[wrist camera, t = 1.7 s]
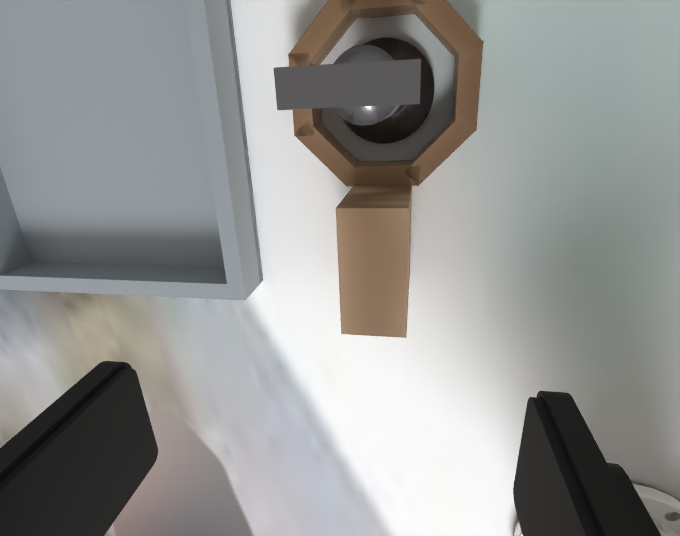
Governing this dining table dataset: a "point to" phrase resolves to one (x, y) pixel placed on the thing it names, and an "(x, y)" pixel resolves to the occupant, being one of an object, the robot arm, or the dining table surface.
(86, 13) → the tray
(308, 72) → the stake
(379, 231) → the ring
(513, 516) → the dining table surface
